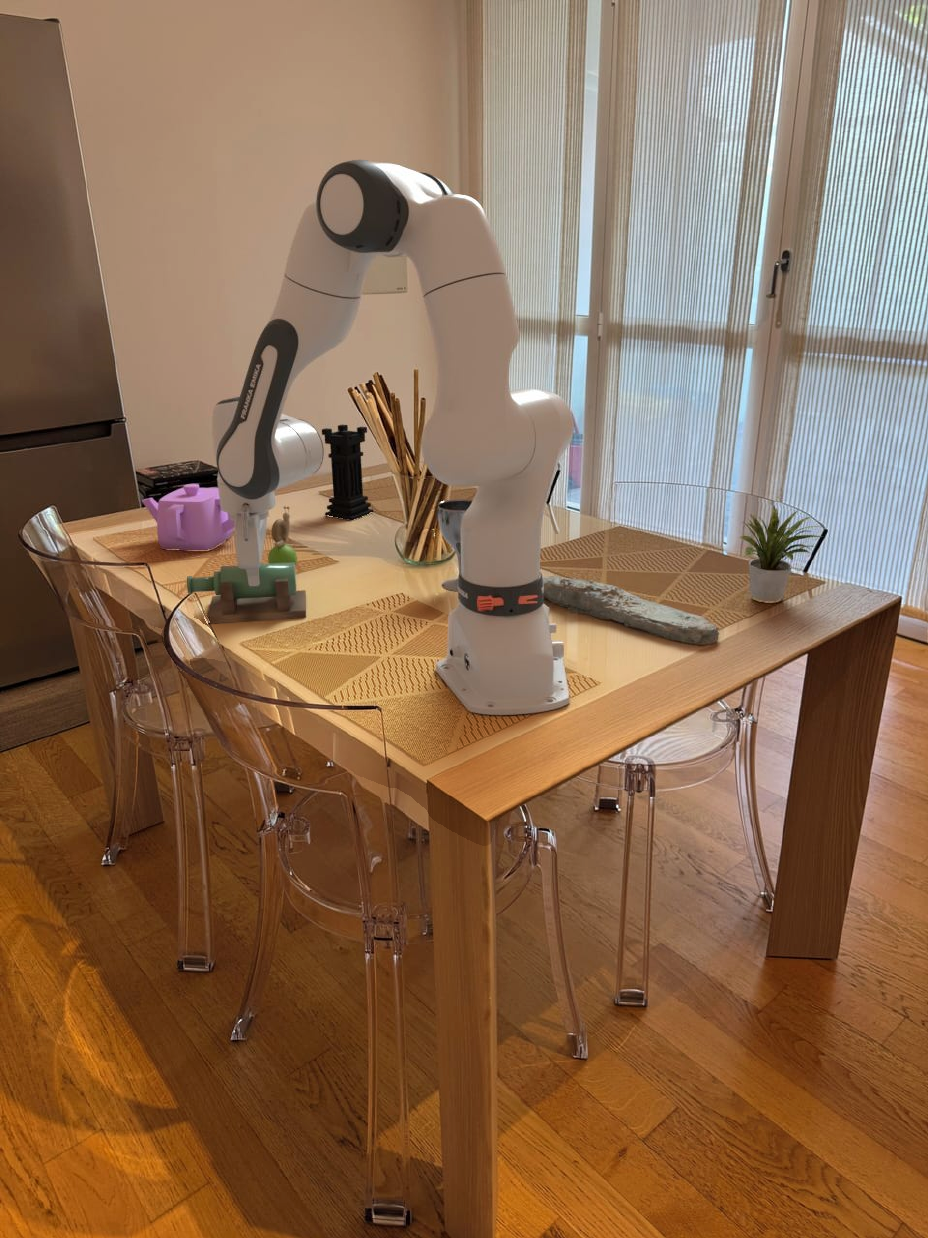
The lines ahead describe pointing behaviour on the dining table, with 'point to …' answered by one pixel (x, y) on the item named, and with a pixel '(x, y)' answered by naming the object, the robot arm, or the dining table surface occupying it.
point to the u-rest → (256, 605)
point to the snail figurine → (281, 542)
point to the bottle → (246, 581)
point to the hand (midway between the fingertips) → (255, 577)
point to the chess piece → (346, 473)
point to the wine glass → (452, 529)
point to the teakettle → (190, 518)
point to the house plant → (772, 556)
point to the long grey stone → (629, 610)
